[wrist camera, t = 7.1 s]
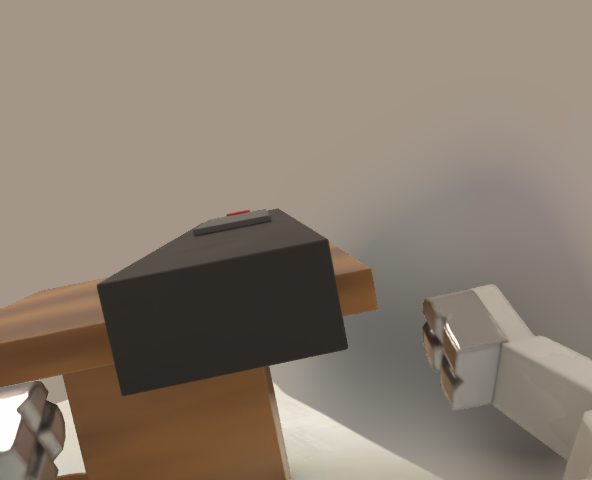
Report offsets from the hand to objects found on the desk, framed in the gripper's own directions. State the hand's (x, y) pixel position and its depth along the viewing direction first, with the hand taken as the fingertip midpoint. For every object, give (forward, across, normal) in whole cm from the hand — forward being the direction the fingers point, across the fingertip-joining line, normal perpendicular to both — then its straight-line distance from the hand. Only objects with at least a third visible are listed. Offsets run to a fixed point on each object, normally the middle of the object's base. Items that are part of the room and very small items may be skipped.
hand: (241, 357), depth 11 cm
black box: (+8, 0, +4) cm, 9 cm away
